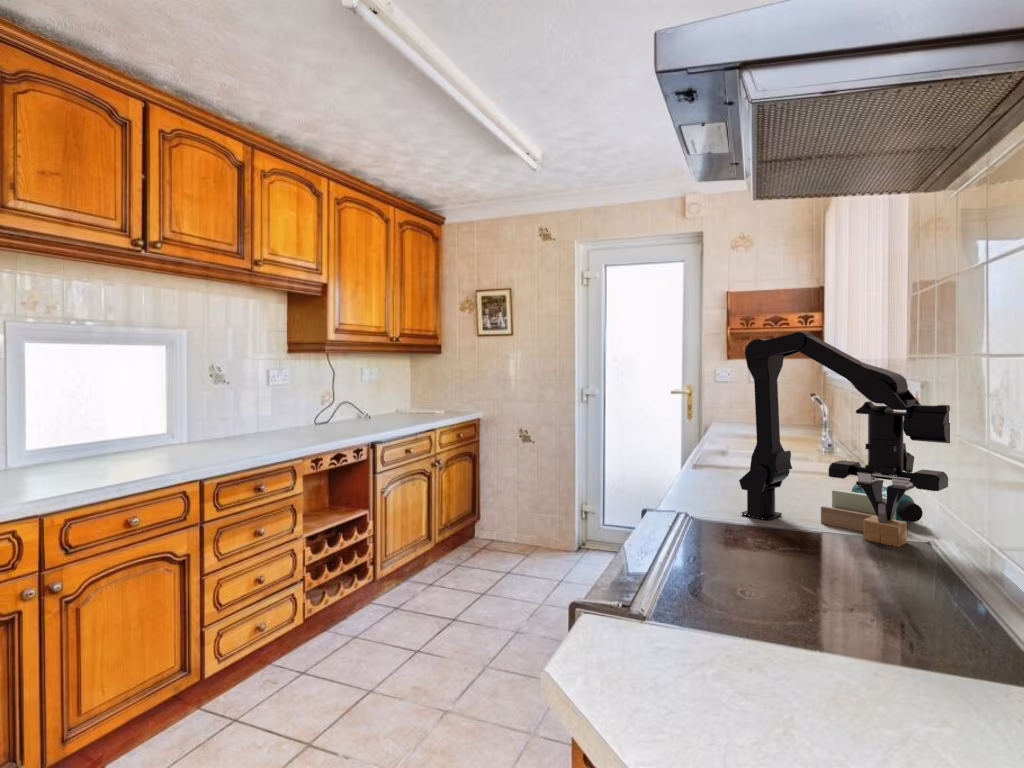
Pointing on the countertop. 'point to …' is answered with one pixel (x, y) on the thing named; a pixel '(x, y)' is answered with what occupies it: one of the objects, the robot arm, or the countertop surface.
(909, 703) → the countertop surface
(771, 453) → the robot arm
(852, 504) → the wooden stand with panel
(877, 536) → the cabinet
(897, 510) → the beverage bottle
